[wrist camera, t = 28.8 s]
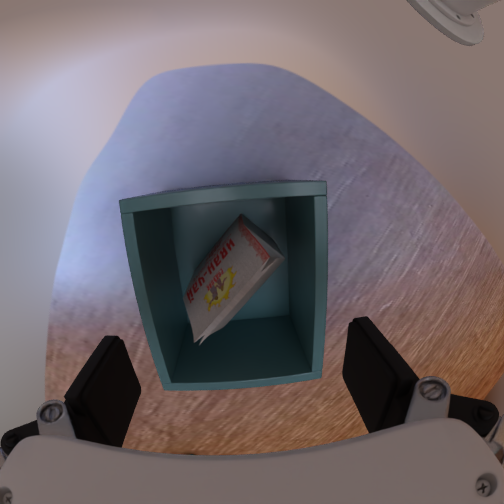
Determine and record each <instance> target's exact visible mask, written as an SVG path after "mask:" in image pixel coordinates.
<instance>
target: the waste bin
mask: <svg viewBox="0 0 504 504" xmlns="http://www.w3.org/2000/svg"><path fill="white" fill-rule="evenodd" d="M326 195H327V184H326V181H314V180H279V181H262V182H248V183H235V184H224V185H213V186H203V187H194V188H186V189H177V190H170V191H162V192H157V193H152V194H146V195H141V196H136V197H132V198H127V199H122V200H119V205H120V213H121V219H122V226H123V233H124V239H125V245H126V251H127V257H128V262H129V267H130V272H131V277H132V281H133V286H134V290H135V295H136V299H137V303H138V307H139V311H140V315H141V319H142V323H143V326H144V330H145V333H146V337H147V340H148V344H149V347H150V350H151V353H152V357H153V360H154V363H155V366H156V369H157V372H158V375H159V378H160V381H161V383H162V386H163V389H164V390H178V391H189V390H223V389H239V388H251V387H262V386H271V385H279V384H287V383H294V382H300V381H307V380H313V379H318V378H321V377H322V367H323V356H324V343H325V328H326V309H327V282H328V214H327V196H326ZM241 213H242V214H243V215H244V216H245V217H247V218H248V219H249V220H250V221H251V222H253V223H254V224H255V225H256V226H258V227H259V228H260V229H261V230H262V231H264V232H265V233H266V234H267V235H268V236H270V237H271V238H272V239H273V240H274V241H275V243H276V244H277V246H278V248H279V249H280V251H281V252H282V254H283V256H284V257H285V260H284V261H283V262H282V263H281V264H280V265H279V267H278V268H277V269H276V270H275V271H274V272H273V273H272V274H271V276H270V277H269V278H268V279H267V280H266V281H265V282H264V283H263V285H262V286H261V287H260V288H259V289H258V290H257V291H256V292H255V294H254V295H253V296H252V297H251V298H250V299H249V300H248V301H247V302H246V303H245V305H244V306H243V307H242V308H241V309H240V310H239V311H238V312H237V313H236V314H235V316H234V317H233V318H232V319H231V320H230V321H229V322H228V323H227V324H226V325H225V326H224V327H223V328H221V329H220V330H218V331H216V332H214V333H212V334H211V335H209V336H208V337H206V339H205V340H204V341H203V342H202V343H201V344H200V342H201V340H202V337H203V336H202V337H201V338H200V339H198V340H197V341H195V342H194V336H193V331H192V327H191V322H190V319H189V316H188V313H187V310H186V307H185V303H184V300H183V297H184V295H185V292H186V290H187V287H188V285H189V282H190V280H191V278H192V275H193V273H194V271H195V269H196V268H197V267H198V266H199V264H200V263H201V262H202V261H203V259H204V258H205V257H206V256H207V254H208V253H209V252H210V251H211V249H212V248H213V247H214V246H215V245H216V243H217V242H218V241H219V240H220V238H221V237H222V236H223V235H224V233H225V232H226V231H227V230H228V229H229V227H230V226H231V225H232V224H233V222H234V221H235V220H236V219H237V218H238V216H239V215H240V214H241ZM199 344H200V345H199Z"/></svg>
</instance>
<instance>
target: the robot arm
mask: <svg viewBox="0 0 504 504" xmlns="http://www.w3.org/2000/svg"><path fill="white" fill-rule="evenodd" d="M428 1H429V2H430V3H431V4H432V5H433V6H435V7H436V8H437V9H438V10H439V11H440V12H441V13H443V14H444V15H445V16H446V17H448V18H449V19H451V20H452V21H454V22H456V23H457V24H460V25H462V26H466V27H467V26H471V25H473V24H474V23H475V20H476V18H475V13H474V12H476V11H478V10H480V9H482V8H484V7H487V6H489V5H491V4H493V3H496V2H498V1H500V0H428ZM342 375H343V379H344V381H345V383H346V385H347V388H348V390H349V392H350V394H351V396H352V398H353V400H354V402H355V404H356V406H357V408H358V411H359V413H360V415H361V417H362V419H363V421H364V423H365V425H366V428H367V430H368V432H369V434H366V435H362V436H359V437H355V438H351V439H346V440H342V441H338V442H333V443H329V444H324V445H319V446H313V447H308V448H302V449H295V450H288V451H280V452H271V453H261V454H247V455H219V456H207V455H180V454H166V453H156V452H147V451H139V450H132V449H126V448H122V445H123V442H124V439H125V436H126V433H127V430H128V427H129V424H130V421H131V419H132V416H133V413H134V410H135V407H136V405H137V402H138V399H139V397H140V394H141V386H140V383H139V381H138V378H137V376H136V373H135V371H134V368H133V366H132V363H131V360H130V358H129V355H128V352H127V350H126V347H125V344H124V341H123V340H122V339H120V338H119V337H118V336H105V337H104V338H103V339H102V341H101V342H100V343H99V345H98V346H97V348H96V349H95V350H94V352H93V353H92V355H91V356H90V358H89V359H88V361H87V362H86V364H85V365H84V367H83V368H82V369H81V371H80V372H79V374H78V375H77V377H76V379H75V380H74V382H73V383H72V385H71V386H70V388H69V389H68V391H67V392H66V394H65V396H64V397H65V399H66V400H65V402H64V403H63V402H62V401H60V400H49V401H47V402H45V403H43V404H42V405H41V406H40V407H39V408H38V411H37V420H35V421H33V422H30V423H28V424H25V425H23V426H20V427H17V428H14V429H12V430H9V431H7V432H6V433H5V434H4V435H3V437H2V439H1V447H0V504H504V414H503V415H502V417H500V416H499V412H498V410H497V408H496V406H495V405H494V404H492V403H491V402H488V401H484V400H479V399H473V398H468V397H463V396H458V395H453V394H451V389H450V386H449V384H448V383H447V382H446V381H445V380H443V379H441V378H439V377H435V376H428V377H424V378H422V379H419V378H418V377H417V375H416V374H415V373H414V372H413V370H412V369H411V368H410V367H409V365H408V364H407V363H406V362H405V360H404V359H403V358H402V357H401V355H400V354H399V353H398V352H397V351H396V349H395V348H394V347H393V346H392V345H391V344H390V343H389V342H388V340H387V339H386V338H385V337H384V336H383V334H382V333H381V332H380V331H379V330H378V328H377V327H376V326H375V325H374V324H373V322H372V321H371V320H370V319H369V318H368V317H367V316H365V317H359V318H354V319H353V321H352V322H350V323H349V326H348V334H347V343H346V350H345V357H344V364H343V371H342Z"/></svg>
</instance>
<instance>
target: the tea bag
mask: <svg viewBox="0 0 504 504" xmlns="http://www.w3.org/2000/svg"><path fill="white" fill-rule="evenodd" d="M284 260H285V257H284V256H283V254H282V252H281V251H280V249H279V248H278V246H277V244H276V243H275V241H274V240H273V239H272V238H271V237H270V236H268V235H267V234H266V233H265V232H264V231H262V230H261V229H260V228H259V227H258V226H256V225H255V224H254V223H253V222H251V221H250V220H249V219H248V218H247V217H245V216H244V215H243V214H242V213H241V214H240V215H239V216H238V218H237V219H236V220H235V221H234V222H233V224H232V225H231V226H230V227H229V229H228V230H227V231H226V232H225V233H224V235H223V236H222V237H221V238H220V240H219V241H218V242H217V243H216V245H215V246H214V247H213V248H212V249H211V251H210V252H209V253H208V254H207V256H206V257H205V258H204V259H203V261H202V262H201V263H200V264H199V266H198V267H197V268H196V269H195V271H194V273H193V275H192V278H191V280H190V282H189V285H188V287H187V290H186V292H185V295H184V297H183V300H184V303H185V307H186V310H187V313H188V316H189V319H190V322H191V327H192V331H193V336H194V342H195V341H197V340H198V339H200V338H201V337H202V336H203V337H202V340H201V342H200V344H201V343H202V342H203V341H204V340H205V339H206V337H208V336H209V335H211V334H212V333H214V332H216V331H218V330H220V329H221V328H223V327H224V326H225V325H226V324H227V323H228V322H229V321H230V320H231V319H232V318H233V317H234V316H235V314H236V313H237V312H238V311H239V310H240V309H241V308H242V307H243V306H244V305H245V303H246V302H247V301H248V300H249V299H250V298H251V297H252V296H253V295H254V294H255V292H256V291H257V290H258V289H259V288H260V287H261V286H262V285H263V283H264V282H265V281H266V280H267V279H268V278H269V277H270V276H271V274H272V273H273V272H274V271H275V270H276V269H277V268H278V267H279V265H280V264H281V263H282V262H283V261H284ZM200 344H199V345H200Z"/></svg>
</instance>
